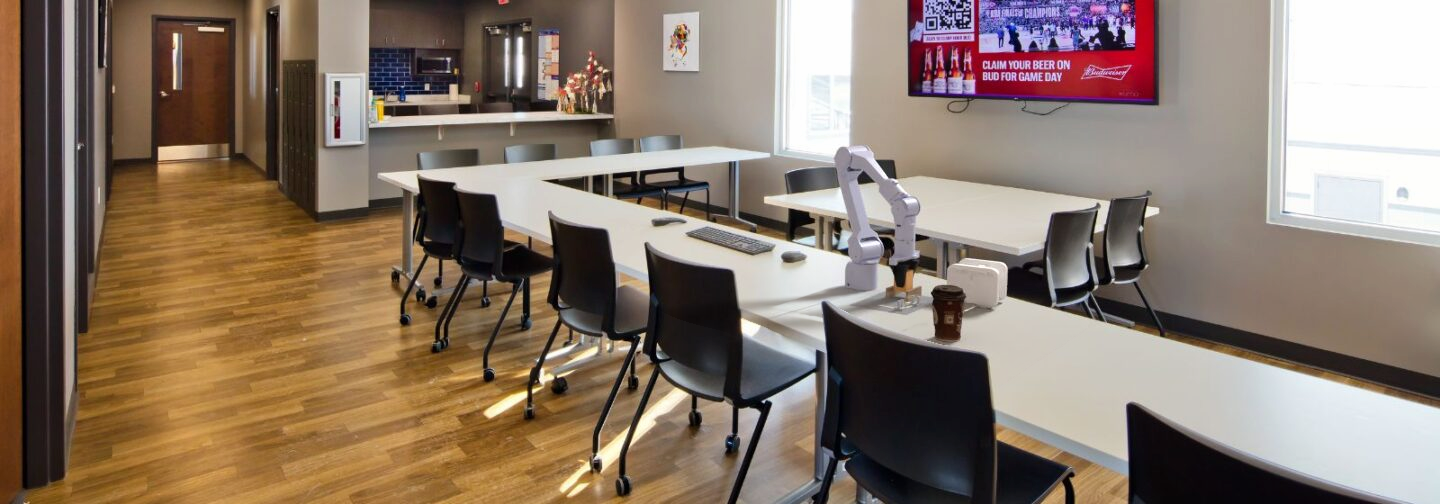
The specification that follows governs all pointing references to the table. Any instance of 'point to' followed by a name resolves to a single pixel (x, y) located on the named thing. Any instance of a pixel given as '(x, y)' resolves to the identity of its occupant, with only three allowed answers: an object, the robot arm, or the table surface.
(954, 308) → the coffee cup
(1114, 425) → the table surface
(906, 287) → the orange rectangular block
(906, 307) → the mat
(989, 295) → the cable organizer
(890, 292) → the end holder
